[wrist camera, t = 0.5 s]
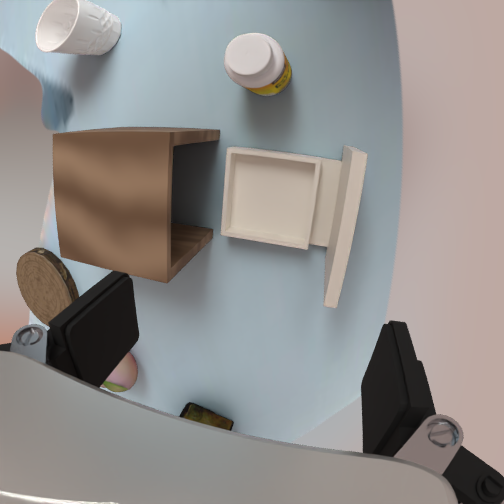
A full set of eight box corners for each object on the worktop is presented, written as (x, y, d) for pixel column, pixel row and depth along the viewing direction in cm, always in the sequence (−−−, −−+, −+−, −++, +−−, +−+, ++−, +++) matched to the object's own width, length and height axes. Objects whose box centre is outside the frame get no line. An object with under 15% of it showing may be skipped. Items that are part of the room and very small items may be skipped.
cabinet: (121, 127, 38) (52, 134, 26) (219, 129, 36) (170, 132, 24) (121, 223, 43) (60, 256, 31) (212, 238, 41) (167, 283, 29)
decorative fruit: (142, 336, 50) (111, 373, 41) (151, 372, 53) (126, 409, 44) (99, 327, 52) (67, 359, 43) (110, 361, 55) (83, 394, 46)
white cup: (122, 1, 31) (77, -18, 22) (128, 45, 34) (81, 32, 24) (81, 25, 33) (34, 14, 24) (86, 68, 36) (36, 63, 27)
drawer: (235, 131, 35) (199, 132, 25) (354, 147, 33) (367, 154, 23) (227, 241, 40) (192, 281, 30) (334, 259, 38) (336, 308, 28)
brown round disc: (87, 330, 54) (78, 339, 52) (35, 310, 57) (27, 316, 54) (73, 254, 48) (61, 260, 45) (20, 241, 51) (9, 247, 48)
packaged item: (194, 385, 52) (173, 426, 43) (245, 408, 52) (230, 452, 43) (157, 461, 69) (142, 489, 60) (190, 477, 68) (178, 505, 59)
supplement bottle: (286, 101, 33) (272, 89, 24) (239, 92, 34) (209, 79, 24) (297, 56, 31) (286, 29, 21) (249, 48, 31) (222, 22, 22)
